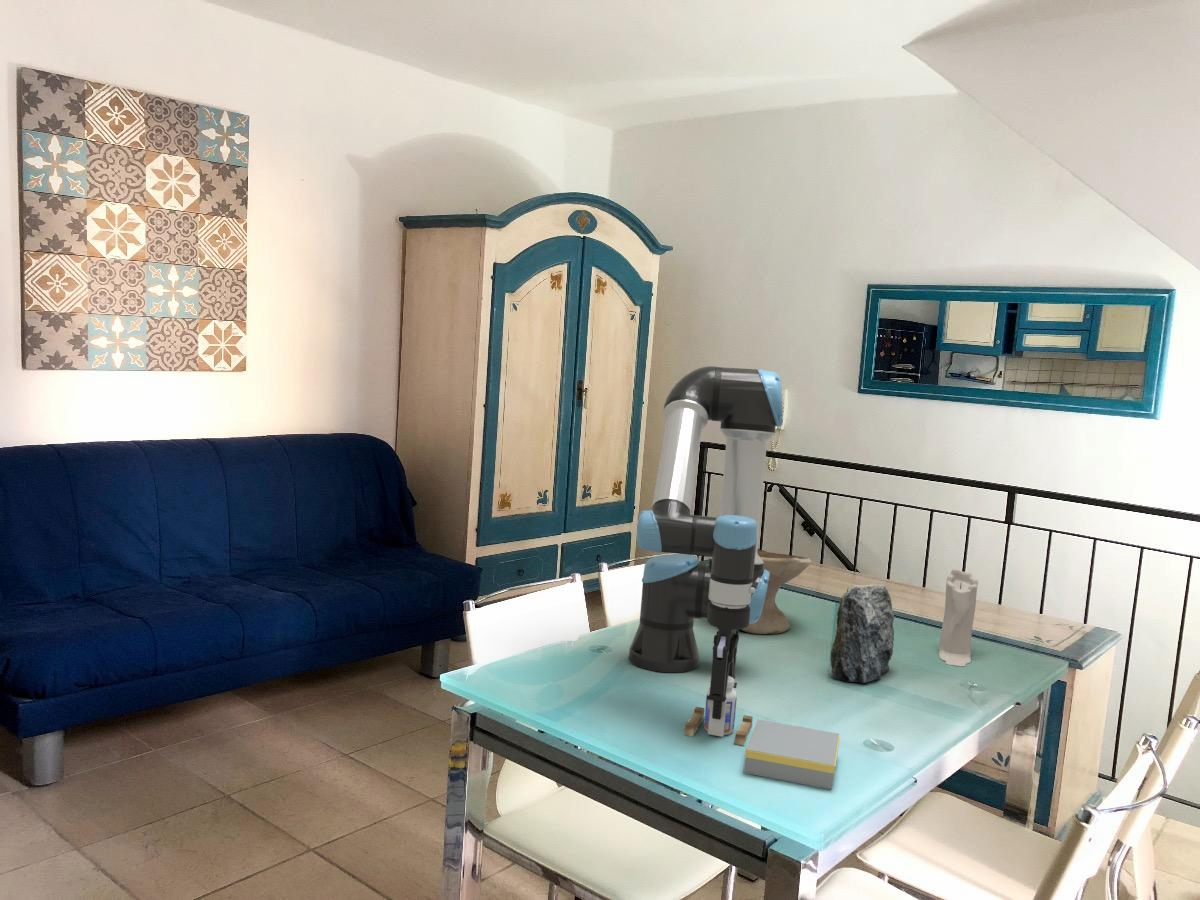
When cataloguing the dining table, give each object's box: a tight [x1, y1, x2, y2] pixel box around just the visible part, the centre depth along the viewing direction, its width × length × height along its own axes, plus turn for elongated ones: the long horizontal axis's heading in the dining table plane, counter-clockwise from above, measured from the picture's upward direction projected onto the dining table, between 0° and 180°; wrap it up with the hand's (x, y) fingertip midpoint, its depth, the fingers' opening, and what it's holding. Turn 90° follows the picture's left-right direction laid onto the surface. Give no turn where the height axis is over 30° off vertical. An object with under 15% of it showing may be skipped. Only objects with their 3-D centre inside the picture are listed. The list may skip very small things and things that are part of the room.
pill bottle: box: [703, 676, 738, 736], centre depth 176 cm, size 5×5×10 cm
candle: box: [938, 568, 979, 667], centre depth 230 cm, size 7×14×20 cm, turn 161°
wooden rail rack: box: [683, 706, 753, 746], centre depth 177 cm, size 11×10×2 cm
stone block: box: [830, 583, 895, 684], centre depth 213 cm, size 18×9×20 cm, turn 134°
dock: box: [743, 718, 841, 790], centre depth 164 cm, size 14×14×4 cm
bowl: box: [739, 549, 812, 635], centre depth 246 cm, size 26×25×20 cm
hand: (718, 728), depth 177 cm, fingers closed on pill bottle, 5 cm apart
